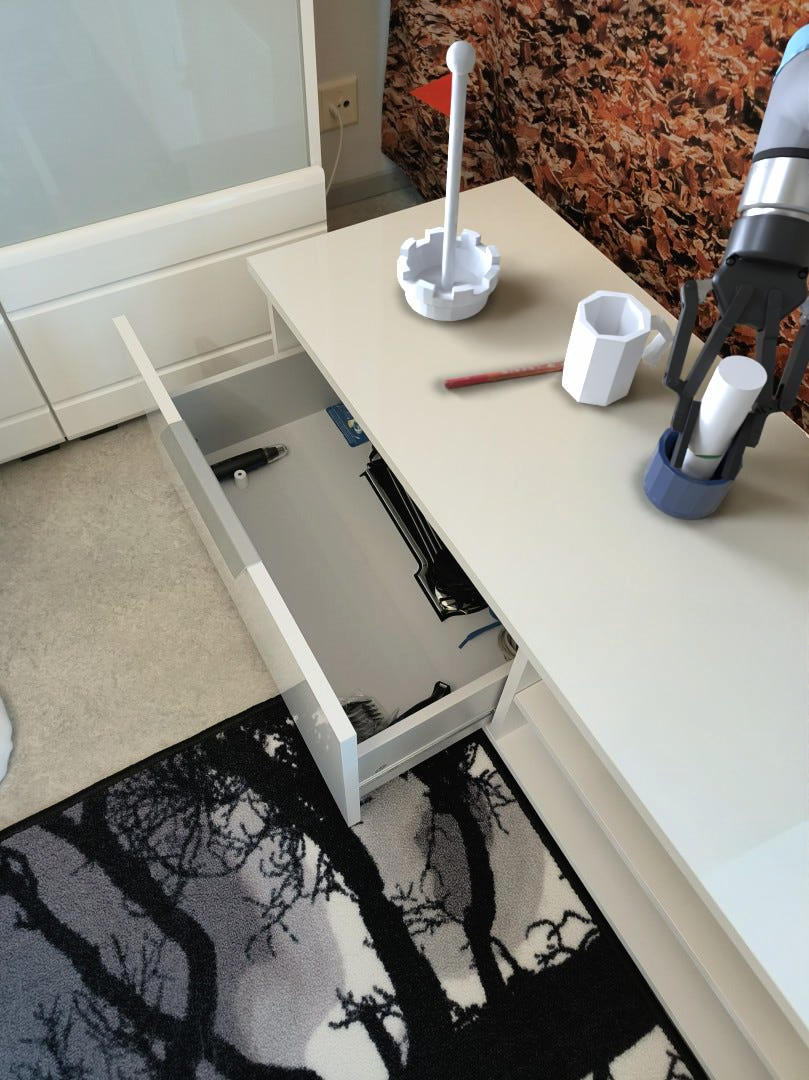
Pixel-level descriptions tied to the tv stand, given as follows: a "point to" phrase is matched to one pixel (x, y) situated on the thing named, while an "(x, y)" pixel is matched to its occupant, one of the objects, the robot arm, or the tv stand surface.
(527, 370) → the pencil
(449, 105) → the flag stand
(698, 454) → the tube
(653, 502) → the cup
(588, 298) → the mug
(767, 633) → the tv stand surface
